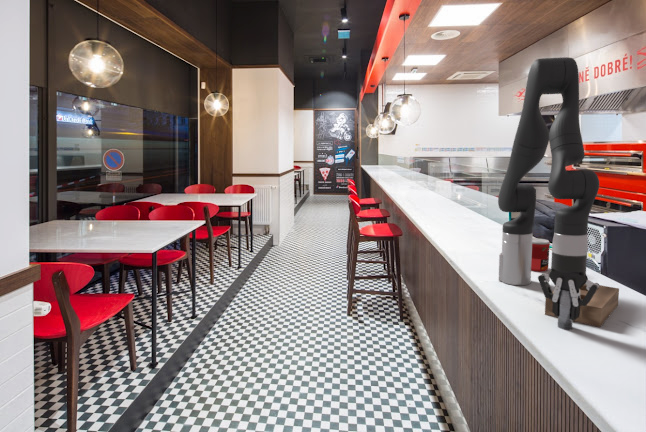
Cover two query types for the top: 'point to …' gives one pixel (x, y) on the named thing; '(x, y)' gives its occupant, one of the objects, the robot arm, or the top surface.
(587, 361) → the top surface
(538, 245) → the canned food
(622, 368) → the top surface
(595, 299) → the hole block
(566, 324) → the pin
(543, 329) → the top surface
